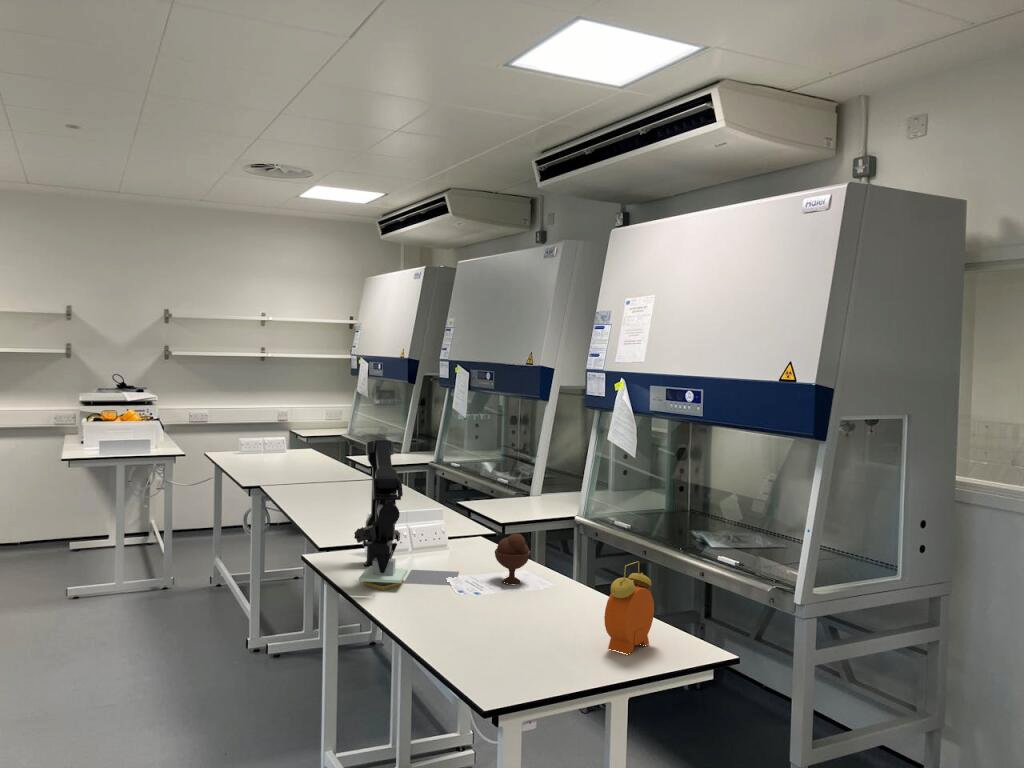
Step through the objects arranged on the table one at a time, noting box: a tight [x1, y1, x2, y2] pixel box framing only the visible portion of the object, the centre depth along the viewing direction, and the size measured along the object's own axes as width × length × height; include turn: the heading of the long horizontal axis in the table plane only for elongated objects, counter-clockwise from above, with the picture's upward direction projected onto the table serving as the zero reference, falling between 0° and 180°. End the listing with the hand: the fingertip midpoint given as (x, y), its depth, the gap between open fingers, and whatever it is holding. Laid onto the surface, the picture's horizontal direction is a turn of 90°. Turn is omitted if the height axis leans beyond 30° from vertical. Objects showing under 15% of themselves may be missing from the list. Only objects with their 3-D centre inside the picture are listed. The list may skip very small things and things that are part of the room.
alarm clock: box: [603, 561, 655, 654], centre depth 187 cm, size 13×6×20 cm, turn 141°
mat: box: [403, 569, 460, 586], centre depth 238 cm, size 15×15×1 cm
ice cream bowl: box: [494, 533, 531, 585], centre depth 238 cm, size 11×11×15 cm
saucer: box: [362, 579, 404, 591], centre depth 229 cm, size 9×9×2 cm
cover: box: [358, 558, 409, 584], centre depth 229 cm, size 12×12×5 cm
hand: (383, 571), depth 229 cm, fingers closed on cover, 3 cm apart
